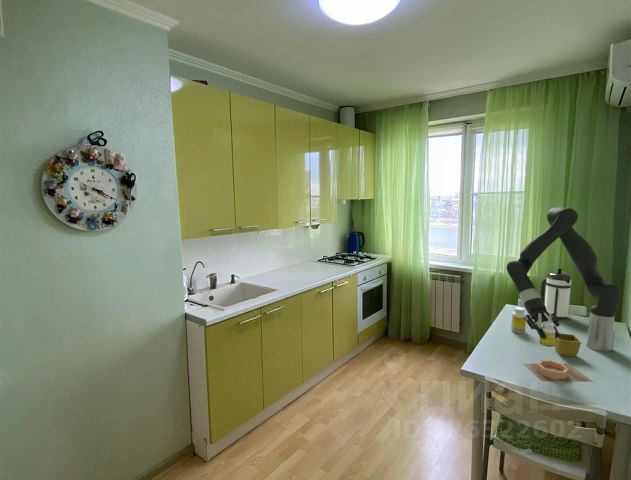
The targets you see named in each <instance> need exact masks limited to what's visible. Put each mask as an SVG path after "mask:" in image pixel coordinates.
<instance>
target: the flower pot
mask: <svg viewBox="0 0 631 480" xmlns="http://www.w3.org/2000/svg"><path fill="white" fill-rule="evenodd" d="M581 345H582V341H581V340H580V339H579V338H578V337H577V336H576V335H575V334H570V333H563V332H559V337H558V338H555V344H554V349H555V351H556V352H557V353H558V354H559V356H566V357H576V356H578V353H579V352H580V348H581Z"/></svg>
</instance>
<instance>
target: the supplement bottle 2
mask: <svg viewBox="0 0 631 480" xmlns="http://www.w3.org/2000/svg"><path fill="white" fill-rule="evenodd" d="M541 329H543V331H544V333H545V335H546V338H544V339H542V338H541V337H540V336H539V339H538V340H539V341H538V342H539V343H538V344H539V345H540V346H543V347H545V348H549V349H550V348H555V346H554V344H555V332H556V331H555V329H554V324H553V323H551V322H549V321H547V322H543V323H542V326H541Z"/></svg>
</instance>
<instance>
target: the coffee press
mask: <svg viewBox="0 0 631 480" xmlns="http://www.w3.org/2000/svg"><path fill="white" fill-rule="evenodd" d="M545 277H546V279H543V281H542V282H541V286H540V287H541V288H540V289H541V290H540V297H541V299H542V300H543V302H544V304H545V306H546V311H547V312H548V313H551V314H553V313H555V314H556V316H557V318H567V320H571V319H572V317H571V315H570V314H569V312H570V305H571V303H570V302H571V296H572V295H571V293H572V286H573V285H572V281H573V277H572V275H571V274H570V273H567V272H565V271H563V269H562V268H561V267H559V268H557V271H556V270H555V271H554V270H553V271H549V272H548V273H547V274H546V276H545ZM568 316H569V317H568Z"/></svg>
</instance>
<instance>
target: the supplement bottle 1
mask: <svg viewBox="0 0 631 480" xmlns="http://www.w3.org/2000/svg"><path fill="white" fill-rule="evenodd" d="M525 310H526V308H525V307H524V308H523V307H520V306H519V307H518V306H516V307H514V311H513V312H512V313H511V327H510V328H511V331H512V332H515V333H517V334H524V333H525V332H526V325H527V322H526V321H525V319H524V317H525V316H526V315H527V314H526V313H525Z"/></svg>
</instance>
